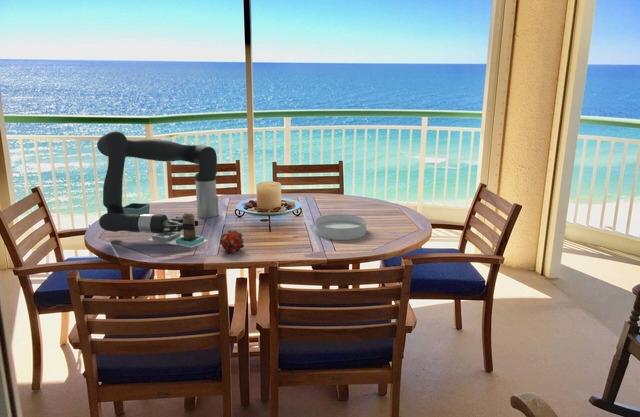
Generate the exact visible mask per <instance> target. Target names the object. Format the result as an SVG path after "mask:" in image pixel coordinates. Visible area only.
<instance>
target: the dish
mask: <svg viewBox="0 0 640 417" xmlns="http://www.w3.org/2000/svg"><path fill="white" fill-rule="evenodd" d="M314 222H315V223H314V224H315V226H314V233H315V234H316V235H317V236H319V237H320V238H324V239H329V240H338V241H341V240H343V241H344V240H345V241H347V240H355V239H360V238H361V237H364V236H365V235H366V234H367V221H366V219H365V218H363V217H361V216H357V215H353V214H345V213H344V214H342V213H340V214H339V213H333V214H326V215H322V216H319V217H317V218H316V219H315V221H314Z"/></svg>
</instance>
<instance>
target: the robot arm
mask: <svg viewBox="0 0 640 417" xmlns="http://www.w3.org/2000/svg"><path fill="white" fill-rule="evenodd" d="M96 144H97V145H96V147H97V150H98V151H99V152H100V154H102V155H103V156H106V157H108V160H107V162H108V163H107V169H106V174H105V178H104V181H103V186H102V204H103V206H104V207H105V208H106V211H107V212H106V213H104V214H102V215H101V216H100V218H99V220H98V224H99V226H100V228H101V229H102V230H104V231H107V232H113V233H117V232H121V231H123V232H124V231H125V232H130V233H144V234H164V233H165V232H166V233H167V232H178V233H180V232H182V231H183V230H194V224H183V216H175V217H172V218H168V216H167V215H166V214H162V213H161V214H160V213H149V214H124V210H123V207H124V206H123V179H124V170H125V162H126V158H134V159H135V158H136V159H140V160H141V159H142V160H148V161H149V160H150V161H156V162H165V163H166V162H168V163H169V162H178V161H179V162H180V161H181V162H187V163H191V164H196V165H198V172H197V173H196V174H195V177H194V178H195V179H194V180H195V182H194V183H195V193H196V194H195V195H196V196H195V197H196V214H197V217H199V218H203V219H204V218H214V217H216V216H219V215H220V213H219V212H220V211H219V197H218V196H219V195H217V181H216V180H217V179H216V177H217V176H216V175H217V172H218V156H217V152H216V150H215V149H214V148H213V147H212V146H207V145H203V144H181V143H178V142H175V141H172V140H167V139H156V138H148V139H147V138H146V139H145V138H144V139H127V137H126V135H125V134H124V133H122V132H121V131H117V130H116V131H110V132H108V133H106V134H103V135H102V136H101V137H100V138H99V139H98V140H97V143H96ZM198 226H199V220H197V219H196V220H195V227H198ZM183 232H184V231H183Z"/></svg>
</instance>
